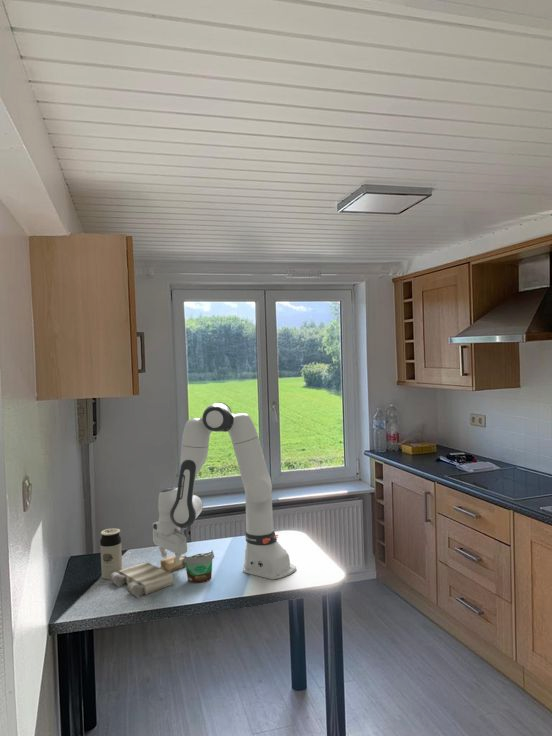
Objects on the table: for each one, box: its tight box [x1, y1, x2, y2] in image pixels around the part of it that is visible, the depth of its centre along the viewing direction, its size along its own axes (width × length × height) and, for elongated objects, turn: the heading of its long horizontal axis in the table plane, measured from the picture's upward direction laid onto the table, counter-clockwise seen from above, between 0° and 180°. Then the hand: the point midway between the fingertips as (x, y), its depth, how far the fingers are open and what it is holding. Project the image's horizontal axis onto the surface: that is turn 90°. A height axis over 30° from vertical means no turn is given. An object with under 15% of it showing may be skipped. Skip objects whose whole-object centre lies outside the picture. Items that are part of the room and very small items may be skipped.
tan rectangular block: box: [159, 555, 186, 573], centre depth 213 cm, size 6×10×4 cm, turn 135°
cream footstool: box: [108, 561, 174, 598], centre depth 197 cm, size 20×16×4 cm
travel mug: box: [99, 528, 123, 580], centre depth 206 cm, size 8×8×18 cm
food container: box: [183, 550, 215, 584], centre depth 198 cm, size 12×6×10 cm, turn 117°
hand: (170, 559), depth 211 cm, fingers open, 8 cm apart
